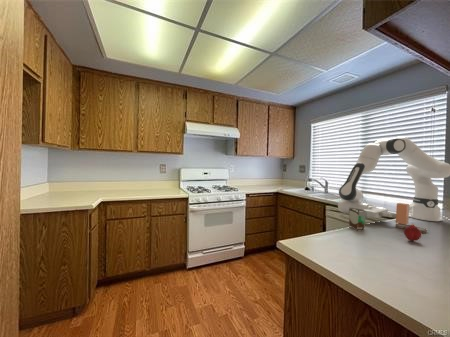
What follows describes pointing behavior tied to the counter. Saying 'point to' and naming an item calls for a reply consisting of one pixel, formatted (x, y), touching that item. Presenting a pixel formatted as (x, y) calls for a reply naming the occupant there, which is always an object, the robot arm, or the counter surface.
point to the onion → (412, 233)
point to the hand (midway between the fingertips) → (392, 215)
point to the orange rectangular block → (402, 213)
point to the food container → (357, 218)
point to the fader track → (422, 230)
